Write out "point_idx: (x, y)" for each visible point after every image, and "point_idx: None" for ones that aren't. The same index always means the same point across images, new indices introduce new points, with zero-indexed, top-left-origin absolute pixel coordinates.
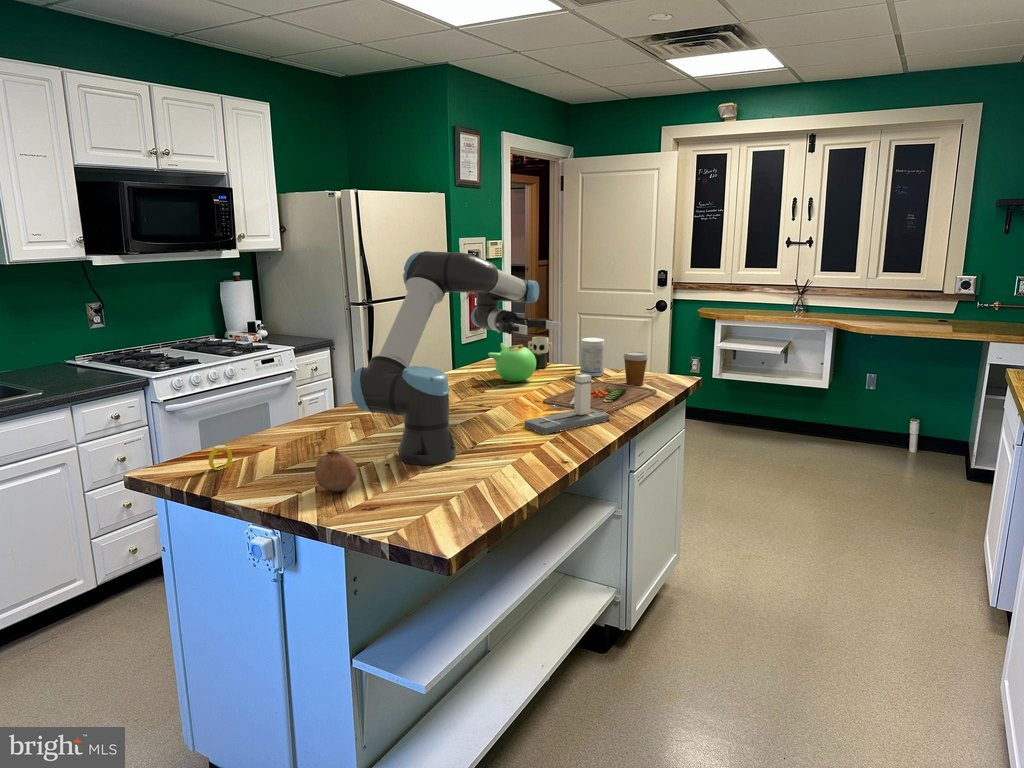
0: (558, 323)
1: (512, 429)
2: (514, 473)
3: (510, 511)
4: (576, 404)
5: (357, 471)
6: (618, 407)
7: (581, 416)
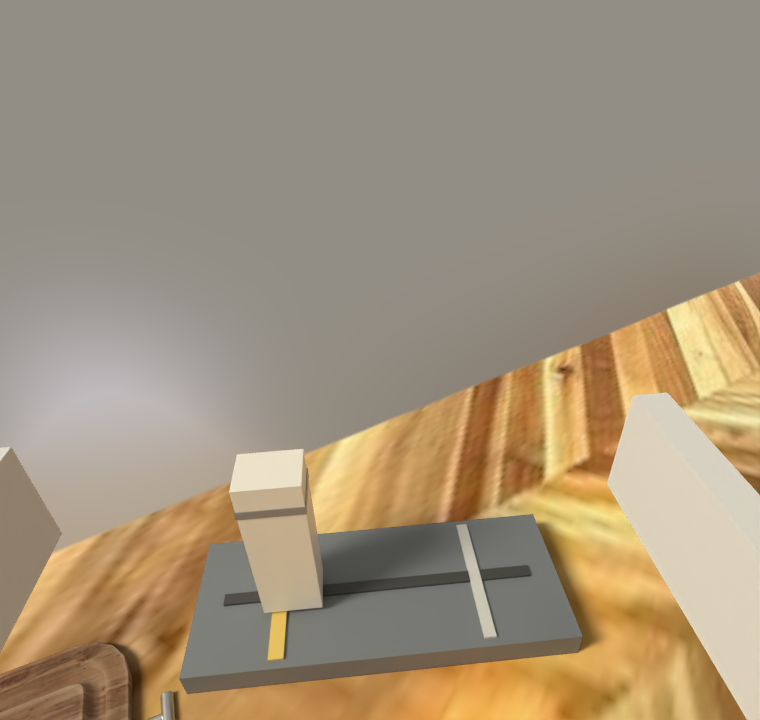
0: (11, 461)
1: (642, 647)
2: (696, 364)
3: (720, 288)
4: (318, 568)
5: None
6: (3, 677)
7: None
